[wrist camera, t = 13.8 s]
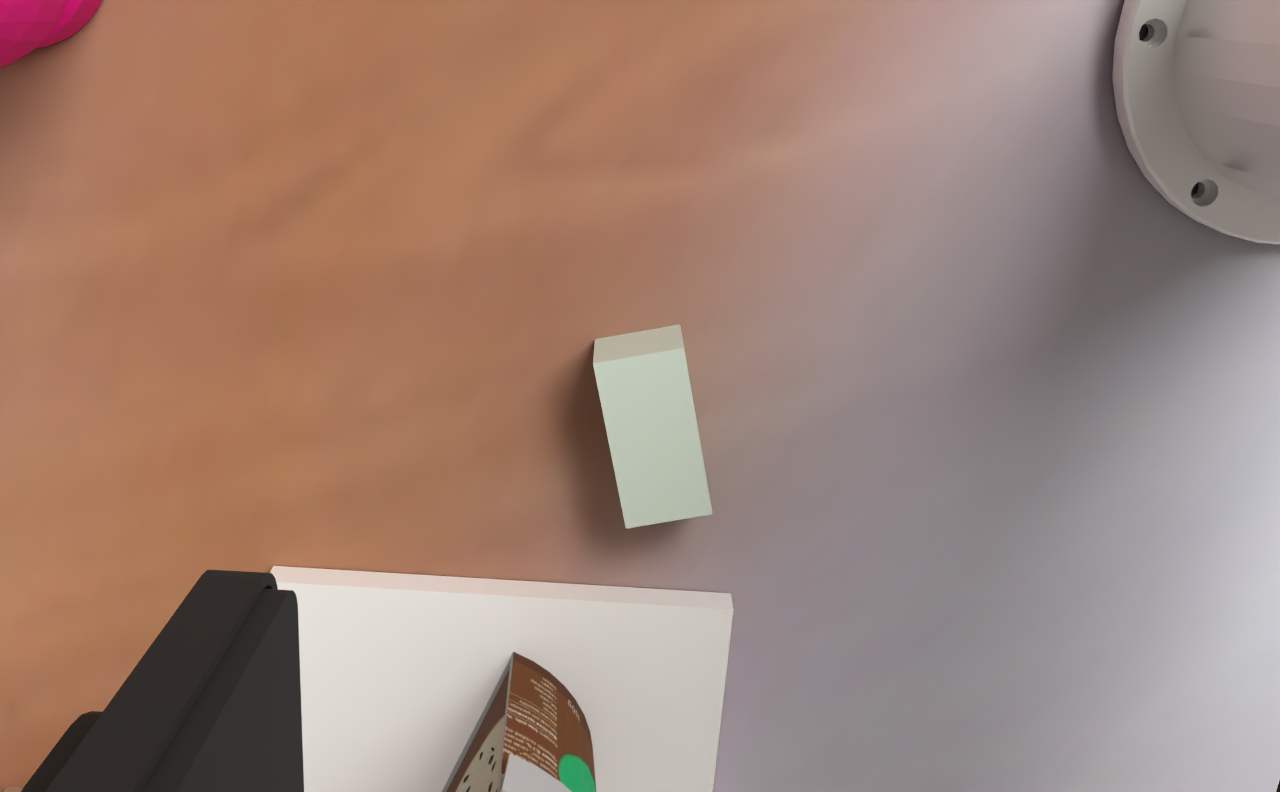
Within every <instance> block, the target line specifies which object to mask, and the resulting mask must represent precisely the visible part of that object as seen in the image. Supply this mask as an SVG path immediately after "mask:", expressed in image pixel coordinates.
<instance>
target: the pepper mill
mask: <svg viewBox="0 0 1280 792" xmlns="http://www.w3.org/2000/svg"><path fill="white" fill-rule="evenodd" d="M101 1H102V0H0V67H3V66H5V65H8V64H10V63H12V62H14V61H15V60H17V59H19V58H21V57H22V56H24V55H26V54H27V53H29V52H31V51H32V50H33V49H35V48H41V47H46V46H49V45H52V44H55V43H58V42H61V41H63V40H65V39H67V38H68V37H70V36H72V35H73V34H75V33H76V32H77V31H79V30H80V29H81V28H82V27H83V26H84V25H85V24H86V23H87V22H88V21H89V20H90V19H91V17H92V16H93V14H94V13H95V11H96V10H97V9H98V7H99V5H100V3H101Z"/></svg>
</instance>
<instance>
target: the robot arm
mask: <svg viewBox="0 0 1280 792" xmlns="http://www.w3.org/2000/svg"><path fill="white" fill-rule="evenodd" d="M1144 24H1145V25H1146V26H1147V27H1148V35H1147V37H1146V38H1145V39H1144V40H1142V41H1140V40H1139V31H1140V29H1141V27H1142V25H1144ZM1112 80H1113V87H1114V95H1115V103H1116V111H1117V117H1118V120H1119V123H1120V126H1121V129H1122V132H1123V135H1124V138H1125V140H1126V143H1127V146H1128V149H1129V151H1130V153H1131V154H1132V156H1133V158H1134V159H1135V161H1136V163H1137V164H1138V166H1139V168H1140V169H1141V171H1142V173H1143V174H1144V176H1145V178H1146V179H1147V180H1148V181H1149V182H1150V183H1151V185H1152V186H1153V187H1154V188H1155V189H1156V190H1157V191H1158V192H1159V193H1160V194H1161V195H1162V196H1163V197H1164V198H1165V199H1166V200H1167V201H1168V203H1170V204H1171V205H1173V206H1174V207H1176V208H1177V209H1179V210H1180V211H1181V212H1183V213H1184V214H1186V215H1187V216H1189V217H1190V218H1192V219H1193V220H1195V221H1196V222H1199V223H1201V224H1203V225H1206V226H1208V227H1210V228H1212V229H1215V230H1217V231H1219V232H1221V233H1223V234H1227V235H1231V236H1234V237H1238V238H1241V239H1245V240H1249V241H1252V242H1256V243H1267V244H1280V0H1125V1H1124V5H1123V9H1122V13H1121V17H1120V21H1119V25H1118V29H1117V33H1116V37H1115V45H1114V62H1113V78H1112ZM1197 183H1198V184H1199V189H1198V191H1197V193H1196V194H1194V195H1192V196H1191V191H1192V189H1193V187H1194V185H1195V184H1197ZM21 792H304V773H303V744H302V714H301V684H300V655H299V625H298V604H297V597H296V594H295V592H294V591H293V590H278V587H277V583H276V579H275V577H274V576H273V574H272V573H259V572H241V571H222V570H207V571H206V572H205V573H204V574H203V575H202V576H201V577H200V578H199V580H198V581H197V583H196V584H195V585H194V587H193V588H192V589H191V591H190V592H189V594H188V595H187V596H186V598H185V599H184V601H183V602H182V603H181V605H180V606H179V607H178V609H177V610H176V612H175V613H174V614H173V616H172V617H171V619H170V620H169V621H168V623H167V624H166V625H165V627H164V628H163V630H162V631H161V632H160V634H159V635H158V636H157V638H156V639H155V641H154V642H153V643H152V645H151V646H150V648H149V649H148V650H147V652H146V653H145V654H144V656H143V657H142V659H141V660H140V661H139V663H138V664H137V666H136V667H135V668H134V670H133V671H132V672H131V674H130V675H129V677H128V678H127V679H126V681H125V682H124V684H123V685H122V686H121V688H120V689H119V690H118V692H117V693H116V695H115V696H114V697H113V699H112V700H111V701H110V703H109V704H108V706H107V707H106V708H105V710H104V711H103V712H94V711H91V712H88V713H85V714H82V715H81V716H80V717H79V718H78V719H77V720H76V721H75V722H74V723H73V724H72V725H71V726H70V727H69V728H68V730H67V731H66V732H65V734H64V735H63V736H62V737H61V739H60V740H59V741H58V743H57V744H56V745H55V747H54V748H53V749H52V751H51V752H50V753H49V755H48V756H47V757H46V759H45V760H44V761H43V763H42V764H41V765H40V767H39V768H38V769H37V771H36V772H35V773H34V775H33V776H32V777H31V779H30V780H29V781H28V783H27V784H26V785H25V787H24V788H23V789H22V791H21ZM1276 792H1280V781H1279V785H1278V788H1277V791H1276Z"/></svg>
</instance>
